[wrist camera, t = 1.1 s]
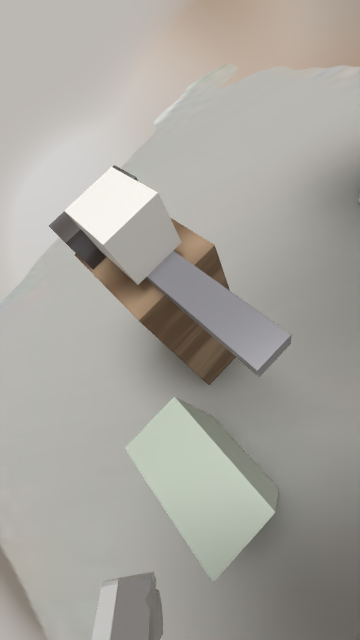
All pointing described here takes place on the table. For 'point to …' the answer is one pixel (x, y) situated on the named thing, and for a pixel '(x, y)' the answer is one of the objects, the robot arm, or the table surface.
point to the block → (204, 483)
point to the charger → (171, 266)
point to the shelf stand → (158, 295)
